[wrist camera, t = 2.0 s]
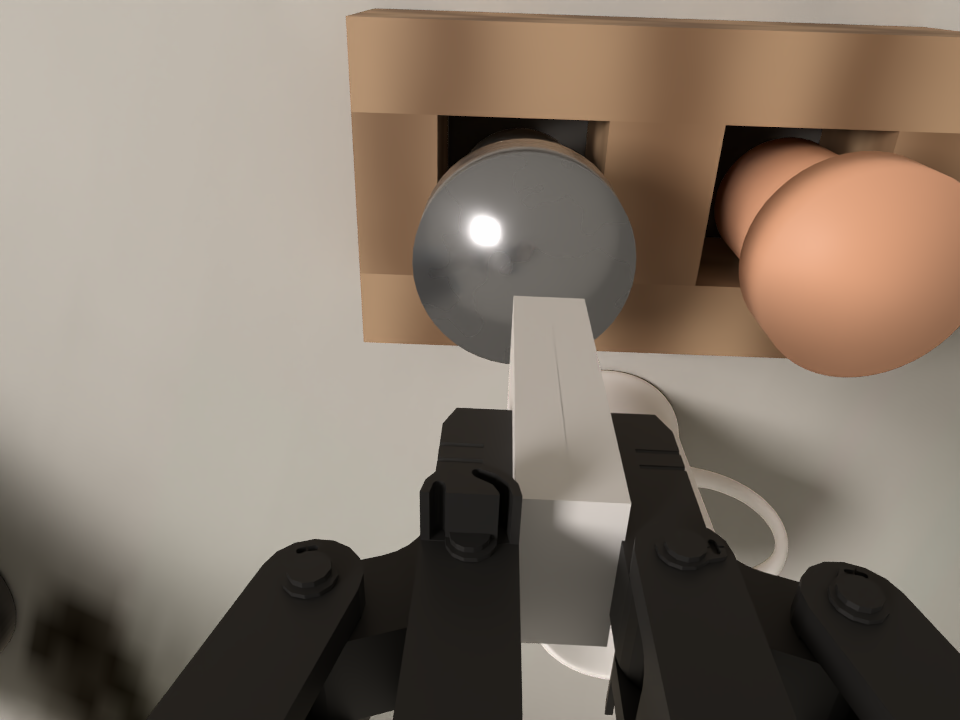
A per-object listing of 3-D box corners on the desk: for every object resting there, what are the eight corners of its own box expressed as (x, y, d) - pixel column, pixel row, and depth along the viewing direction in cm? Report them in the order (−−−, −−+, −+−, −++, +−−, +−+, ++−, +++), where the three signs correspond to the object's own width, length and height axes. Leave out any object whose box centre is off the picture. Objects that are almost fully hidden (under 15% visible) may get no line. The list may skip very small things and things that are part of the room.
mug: (757, 383, 36) (861, 551, 26) (714, 512, 40) (789, 701, 30) (529, 360, 36) (540, 520, 25) (509, 492, 40) (511, 676, 30)
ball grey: (435, 266, 29) (413, 360, 22) (435, 101, 26) (410, 149, 19) (592, 272, 29) (621, 368, 22) (610, 108, 26) (651, 158, 19)
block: (385, 285, 34) (364, 341, 29) (374, 8, 28) (346, 16, 23) (842, 302, 34) (904, 362, 29) (924, 27, 28) (1021, 39, 23)
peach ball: (680, 276, 29) (738, 373, 22) (709, 111, 26) (787, 162, 19) (838, 281, 29) (947, 381, 22) (886, 117, 26) (1031, 171, 19)
